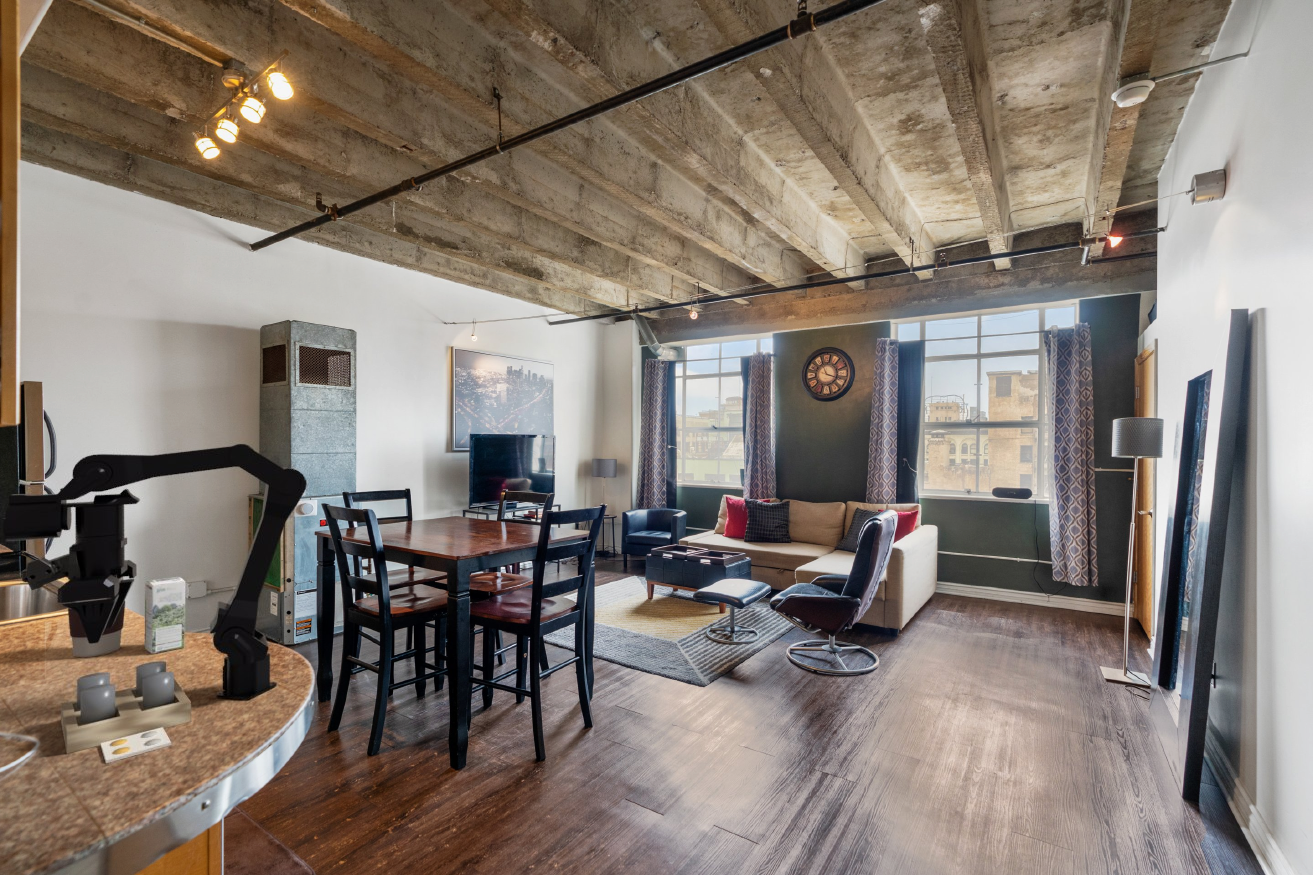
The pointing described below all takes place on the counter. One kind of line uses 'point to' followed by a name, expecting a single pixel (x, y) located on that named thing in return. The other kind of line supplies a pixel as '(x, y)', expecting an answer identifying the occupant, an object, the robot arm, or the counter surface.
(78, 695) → the button
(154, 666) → the button
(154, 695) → the button
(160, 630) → the syrup box
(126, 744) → the pattern tile
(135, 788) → the counter surface
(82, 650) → the coffee cup
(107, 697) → the button
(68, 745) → the button board
